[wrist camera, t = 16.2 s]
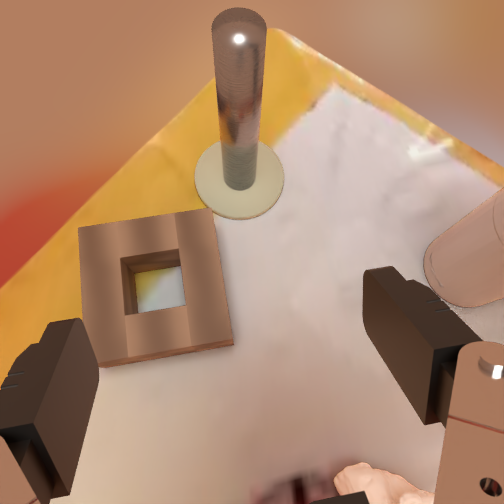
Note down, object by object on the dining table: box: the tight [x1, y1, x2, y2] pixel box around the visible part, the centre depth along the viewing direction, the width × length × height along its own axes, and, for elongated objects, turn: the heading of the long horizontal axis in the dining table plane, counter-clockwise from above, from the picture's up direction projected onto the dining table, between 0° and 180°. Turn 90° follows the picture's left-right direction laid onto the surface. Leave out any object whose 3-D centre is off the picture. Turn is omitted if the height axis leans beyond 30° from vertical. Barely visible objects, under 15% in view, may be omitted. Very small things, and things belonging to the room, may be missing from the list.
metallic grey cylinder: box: [212, 8, 267, 191], centre depth 40 cm, size 4×4×22 cm
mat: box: [195, 141, 284, 220], centre depth 51 cm, size 11×11×1 cm
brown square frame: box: [78, 207, 234, 368], centre depth 44 cm, size 14×14×6 cm
